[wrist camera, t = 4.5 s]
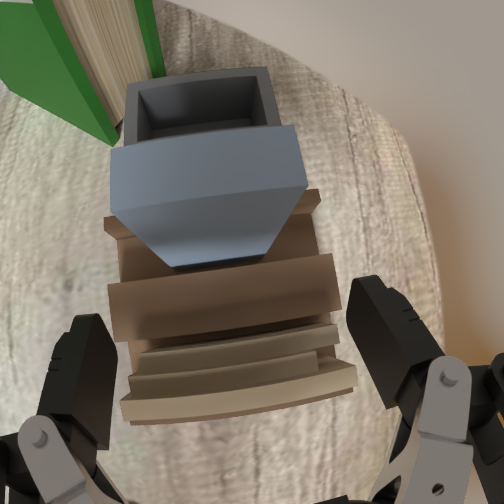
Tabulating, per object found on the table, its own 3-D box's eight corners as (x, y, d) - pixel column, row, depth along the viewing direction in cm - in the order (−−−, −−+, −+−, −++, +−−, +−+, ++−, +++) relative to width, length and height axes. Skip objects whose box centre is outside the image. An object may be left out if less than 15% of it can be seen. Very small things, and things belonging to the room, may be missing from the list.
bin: (270, 178, 23) (284, 135, 17) (146, 194, 22) (123, 156, 16) (258, 116, 24) (266, 66, 18) (144, 130, 23) (126, 84, 17)
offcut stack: (322, 367, 19) (358, 385, 14) (151, 392, 18) (123, 420, 12) (315, 322, 20) (350, 324, 14) (143, 347, 19) (111, 358, 13)
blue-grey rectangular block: (262, 259, 20) (308, 185, 9) (175, 271, 20) (110, 211, 8) (256, 229, 21) (294, 125, 9) (172, 240, 20) (110, 149, 9)
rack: (332, 382, 21) (353, 394, 17) (147, 410, 19) (131, 428, 15) (301, 200, 23) (315, 178, 19) (122, 224, 22) (103, 206, 18)
